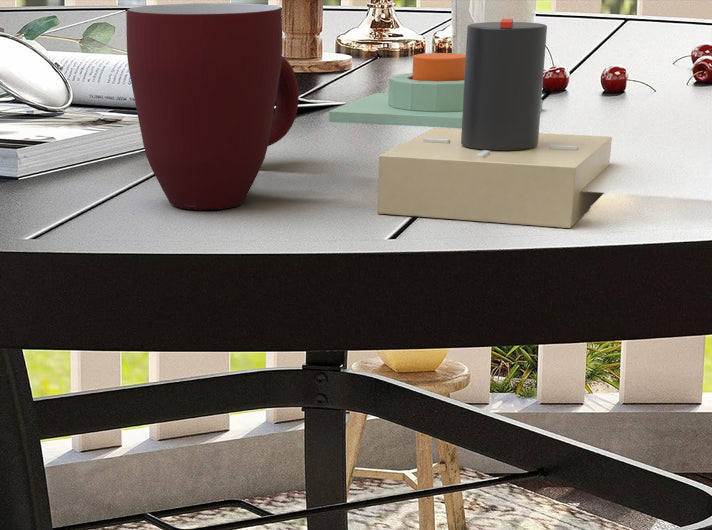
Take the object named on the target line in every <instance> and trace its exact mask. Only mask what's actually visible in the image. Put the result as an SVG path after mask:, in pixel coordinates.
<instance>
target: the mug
mask: <svg viewBox="0 0 712 530" xmlns="http://www.w3.org/2000/svg"><path fill="white" fill-rule="evenodd" d="M125 19H126V20H125V21H126V22H125V23H126V25H125V27H126V28H125V29H126V30H125V32H126V57H127V66H128V72H129V78H130V83H131V88H132V93H133V99H134V104H135V109H136V113H137V119H138V123H139V128H140V129H139V130H140V134H141V138H142V144H143V148H144V152H145V156H146V159H147V161H148V164H149V167H150V168H151V170H152V172H153V175H154V176H155V178H156V180H157V182H158V184H159V185H160V188H161V190H162V191H163V193H164V195H165V197H166V199H167V201H168V203H170V205H171V206H173V207H176V208H179V209H182V210H184V209H185V210H193V211H195V210H196V211H216V210H226V209H231V208H232V209H233V208H235V207H238V206H240V205H242V204H244V202H245V200H246V198H247V196H248V194H249V193H250V190H251V188H252V186H253V184H254V183H255V180H256V179H257V176H258V174H259V172H260V170H261V168H262V165H263V163H264V161H265V157H266V155H267V151H268V147H270V146H272V145H274V144H277V143H278V142H279V141H281V140H282V139H283V138H284V137H285V136H286V135H287V134H288V133H289V131H291V128H292V126H293V125H294V123H295V119H296V117H297V113H298V109H299V100H300V99H299V98H300V97H299V96H300V93H299V84H298V80H297V76H296V73H295V71H294V69H293V66H292V65H291V64H290V62H289V61H288V60H287V59H286V57H284V56H283V9H282V7H281V6H278V5H273V4H262V3H261V4H260V3H234V2H233V3H232V2H202V3H201V2H200V3H198V2H197V3H169V4H168V3H167V4H154V5H151V4H150V5H143V6H134V7H130V8H127V9H126V14H125Z"/></svg>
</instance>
